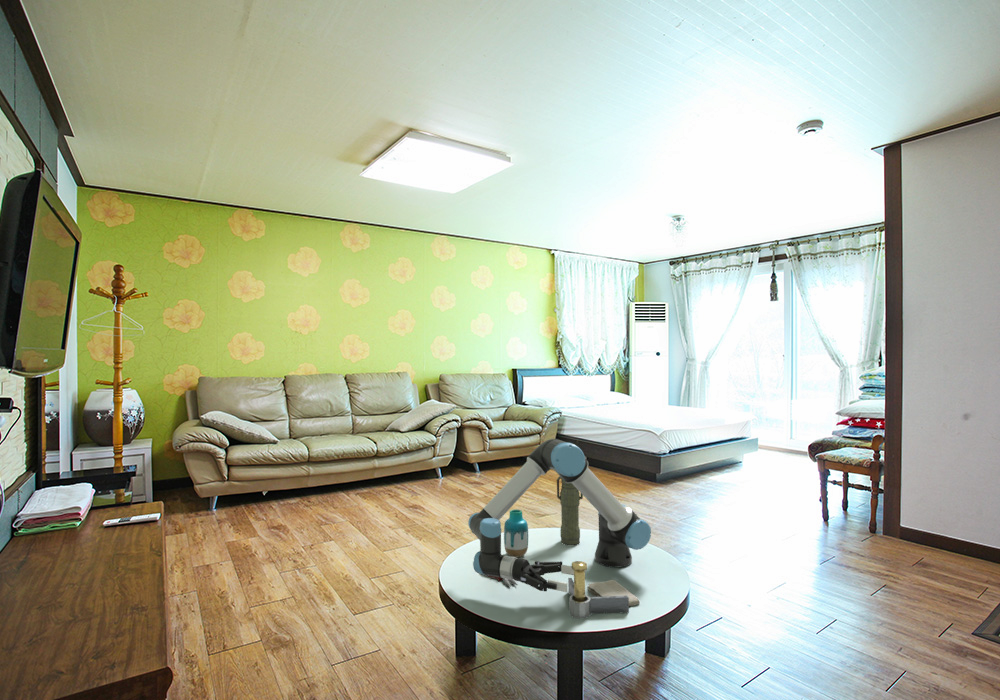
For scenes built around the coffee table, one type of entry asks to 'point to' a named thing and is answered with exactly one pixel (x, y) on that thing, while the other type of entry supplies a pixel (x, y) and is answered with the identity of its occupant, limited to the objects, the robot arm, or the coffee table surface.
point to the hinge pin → (579, 580)
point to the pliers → (504, 580)
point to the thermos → (569, 512)
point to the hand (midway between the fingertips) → (573, 579)
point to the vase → (516, 534)
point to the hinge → (596, 604)
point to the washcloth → (611, 591)
